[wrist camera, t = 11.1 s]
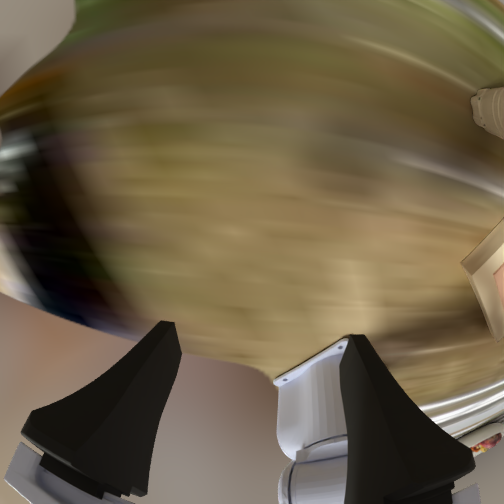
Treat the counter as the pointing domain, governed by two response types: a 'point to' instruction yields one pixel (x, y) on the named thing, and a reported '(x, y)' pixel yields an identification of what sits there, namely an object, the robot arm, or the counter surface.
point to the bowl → (483, 438)
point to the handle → (489, 110)
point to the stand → (489, 278)
